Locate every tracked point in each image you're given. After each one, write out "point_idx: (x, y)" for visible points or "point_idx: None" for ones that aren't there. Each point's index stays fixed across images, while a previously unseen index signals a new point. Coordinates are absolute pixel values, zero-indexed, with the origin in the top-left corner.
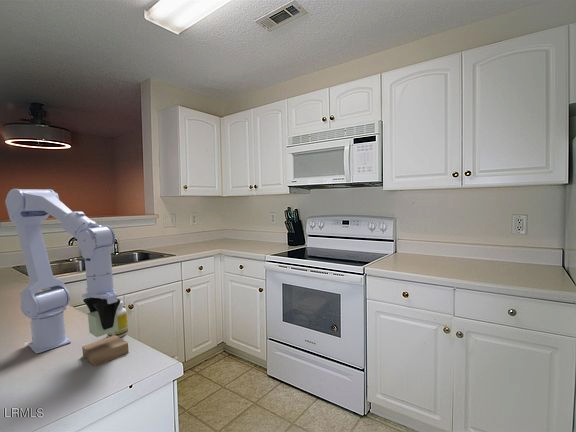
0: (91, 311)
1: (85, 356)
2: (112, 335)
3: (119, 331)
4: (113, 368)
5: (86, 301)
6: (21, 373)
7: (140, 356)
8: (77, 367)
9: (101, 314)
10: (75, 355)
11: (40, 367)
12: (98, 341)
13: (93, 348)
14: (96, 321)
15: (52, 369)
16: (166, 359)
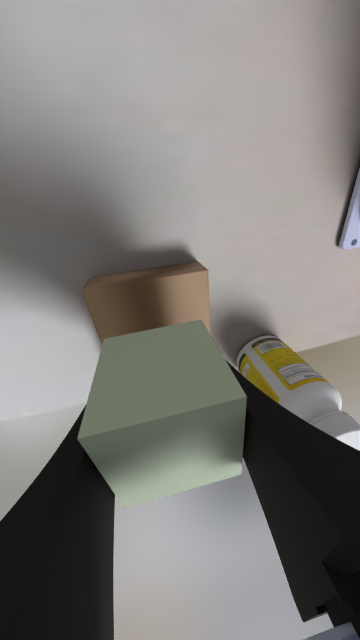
0: (252, 419)
1: (173, 267)
2: (249, 348)
3: (243, 369)
4: (32, 319)
5: (346, 541)
6: (246, 12)
7: (69, 379)
8: (121, 232)
9: (16, 505)
10: (227, 243)
11: (235, 110)
12: (205, 319)
13: (154, 299)
14: (88, 409)
15: (175, 151)
16: (6, 418)
